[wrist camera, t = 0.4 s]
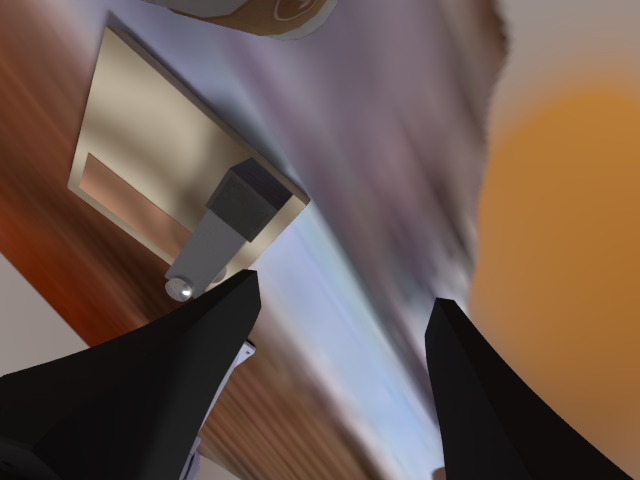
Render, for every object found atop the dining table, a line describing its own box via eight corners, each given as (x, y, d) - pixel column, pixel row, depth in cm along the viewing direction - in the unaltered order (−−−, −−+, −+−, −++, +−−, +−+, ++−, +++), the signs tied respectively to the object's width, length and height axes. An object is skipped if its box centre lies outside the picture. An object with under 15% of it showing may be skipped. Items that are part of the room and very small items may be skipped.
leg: (214, 284, 24) (191, 311, 21) (181, 259, 23) (152, 283, 20) (293, 194, 18) (276, 213, 15) (252, 157, 17) (225, 170, 14)
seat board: (224, 292, 26) (216, 301, 25) (81, 183, 23) (64, 188, 22) (310, 200, 19) (305, 207, 18) (122, 29, 17) (102, 24, 15)
